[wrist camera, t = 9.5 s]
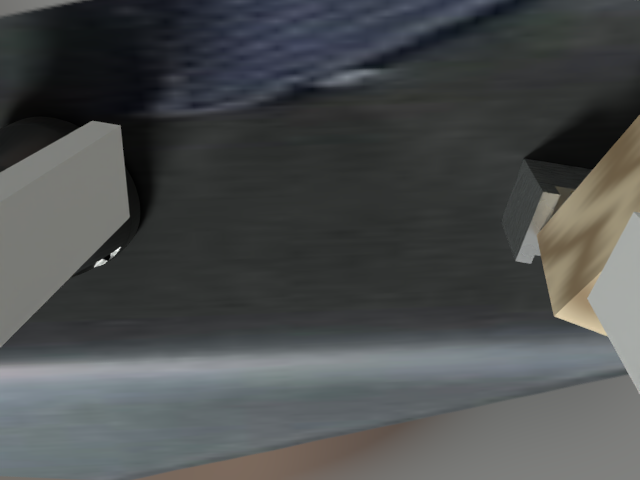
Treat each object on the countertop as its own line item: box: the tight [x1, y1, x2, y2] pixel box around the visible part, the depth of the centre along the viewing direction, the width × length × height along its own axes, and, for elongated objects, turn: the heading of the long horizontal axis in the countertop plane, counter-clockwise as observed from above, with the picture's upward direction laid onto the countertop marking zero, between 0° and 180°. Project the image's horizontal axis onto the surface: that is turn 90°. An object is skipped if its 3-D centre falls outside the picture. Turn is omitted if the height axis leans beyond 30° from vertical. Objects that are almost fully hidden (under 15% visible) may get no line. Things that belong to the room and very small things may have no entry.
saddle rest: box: [501, 158, 592, 264], centre depth 38 cm, size 10×6×6 cm, turn 83°
